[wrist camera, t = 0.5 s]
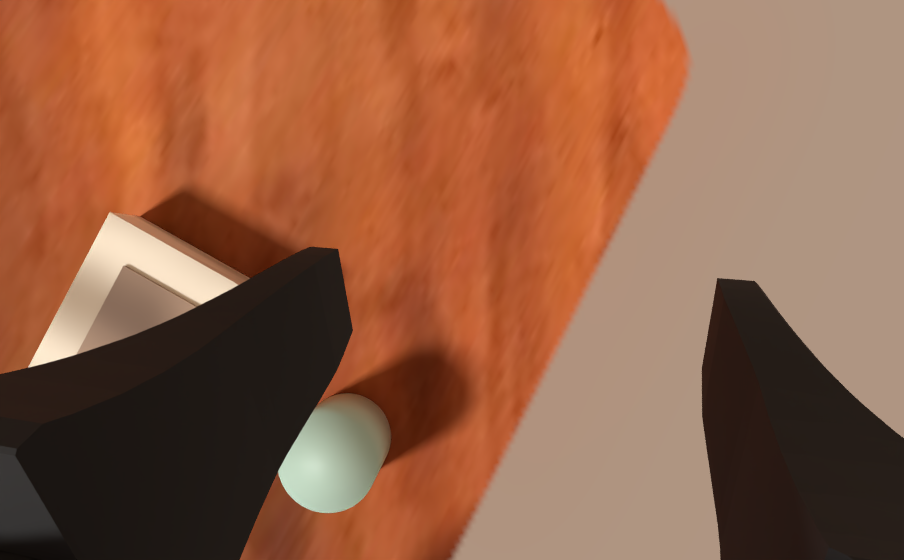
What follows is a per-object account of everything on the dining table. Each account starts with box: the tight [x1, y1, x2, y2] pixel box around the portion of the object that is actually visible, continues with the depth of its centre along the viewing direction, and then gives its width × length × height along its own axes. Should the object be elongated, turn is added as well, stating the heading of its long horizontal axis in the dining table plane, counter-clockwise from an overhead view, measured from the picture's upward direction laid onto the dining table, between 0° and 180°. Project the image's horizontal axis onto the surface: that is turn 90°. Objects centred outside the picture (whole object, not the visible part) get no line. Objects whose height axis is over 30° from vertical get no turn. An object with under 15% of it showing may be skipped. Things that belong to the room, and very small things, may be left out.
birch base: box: [28, 212, 250, 368], centre depth 36 cm, size 10×10×3 cm
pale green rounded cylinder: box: [278, 393, 391, 513], centre depth 35 cm, size 5×5×5 cm
